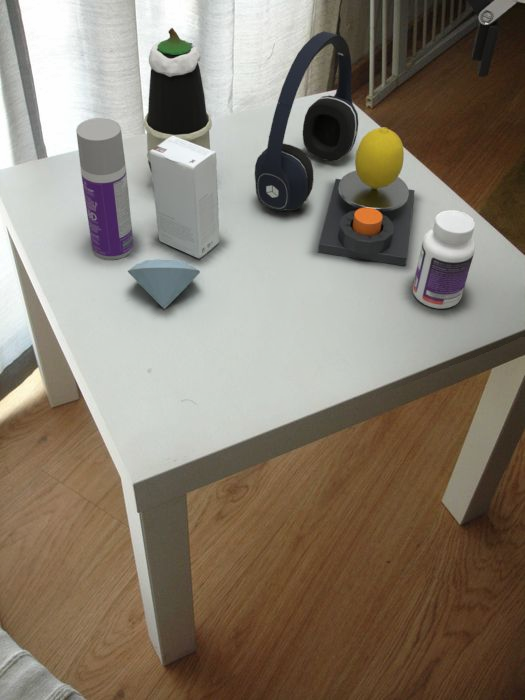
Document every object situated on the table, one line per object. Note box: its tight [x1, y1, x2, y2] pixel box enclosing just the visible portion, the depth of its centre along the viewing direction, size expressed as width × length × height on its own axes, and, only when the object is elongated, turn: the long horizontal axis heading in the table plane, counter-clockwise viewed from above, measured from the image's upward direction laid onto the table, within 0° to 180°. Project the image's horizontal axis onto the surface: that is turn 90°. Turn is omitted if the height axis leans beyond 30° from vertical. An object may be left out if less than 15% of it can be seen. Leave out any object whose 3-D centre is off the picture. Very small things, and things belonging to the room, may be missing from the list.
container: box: [75, 117, 134, 261], centre depth 84 cm, size 5×5×15 cm
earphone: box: [254, 30, 359, 212], centre depth 95 cm, size 20×7×18 cm, turn 152°
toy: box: [143, 27, 213, 174], centre depth 92 cm, size 8×8×20 cm
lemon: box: [354, 126, 405, 189], centre depth 91 cm, size 6×6×8 cm
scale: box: [317, 178, 416, 267], centre depth 94 cm, size 10×14×3 cm
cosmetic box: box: [149, 136, 220, 259], centre depth 87 cm, size 6×4×12 cm
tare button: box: [353, 207, 383, 236], centre depth 89 cm, size 3×3×2 cm
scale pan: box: [339, 170, 409, 212], centre depth 94 cm, size 8×8×1 cm
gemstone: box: [127, 259, 201, 310], centre depth 83 cm, size 8×8×5 cm
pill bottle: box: [412, 209, 476, 310], centre depth 83 cm, size 5×5×10 cm
